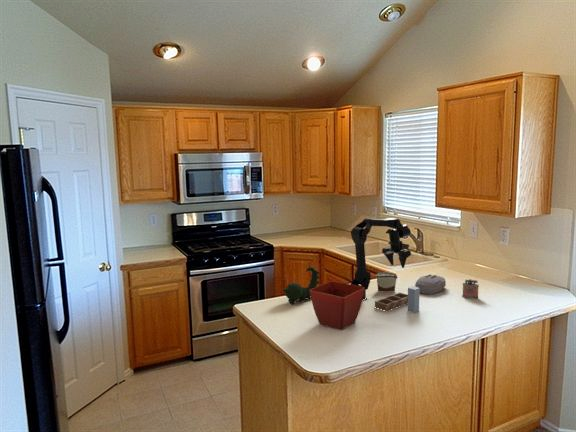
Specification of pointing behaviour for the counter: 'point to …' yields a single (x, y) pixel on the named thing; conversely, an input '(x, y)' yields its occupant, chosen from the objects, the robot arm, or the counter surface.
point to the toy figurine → (301, 288)
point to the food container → (386, 281)
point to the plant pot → (337, 303)
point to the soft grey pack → (430, 284)
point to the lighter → (470, 289)
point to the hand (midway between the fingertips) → (397, 266)
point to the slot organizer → (392, 301)
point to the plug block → (413, 299)
